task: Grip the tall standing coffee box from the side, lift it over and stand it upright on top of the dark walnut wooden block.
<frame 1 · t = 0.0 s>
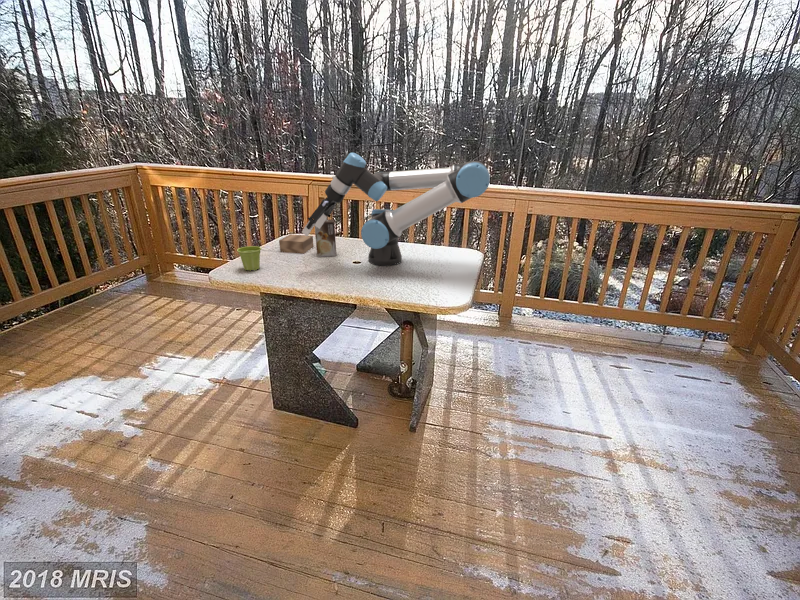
hand: (311, 230, 165), 15 cm above the table, tool tilted 35°, fingers open, 13 cm apart
walnut block: (297, 250, 193), on the table
plant pot: (252, 269, 165), on the table
coffee box: (326, 255, 186), on the table
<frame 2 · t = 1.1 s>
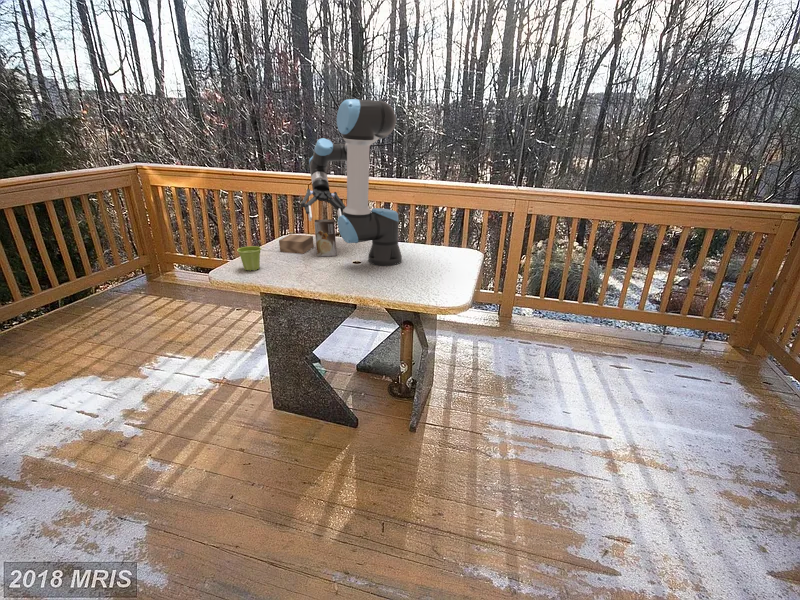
hand: (326, 220, 174), 17 cm above the table, tool tilted 50°, fingers open, 13 cm apart
nothing on the table moved.
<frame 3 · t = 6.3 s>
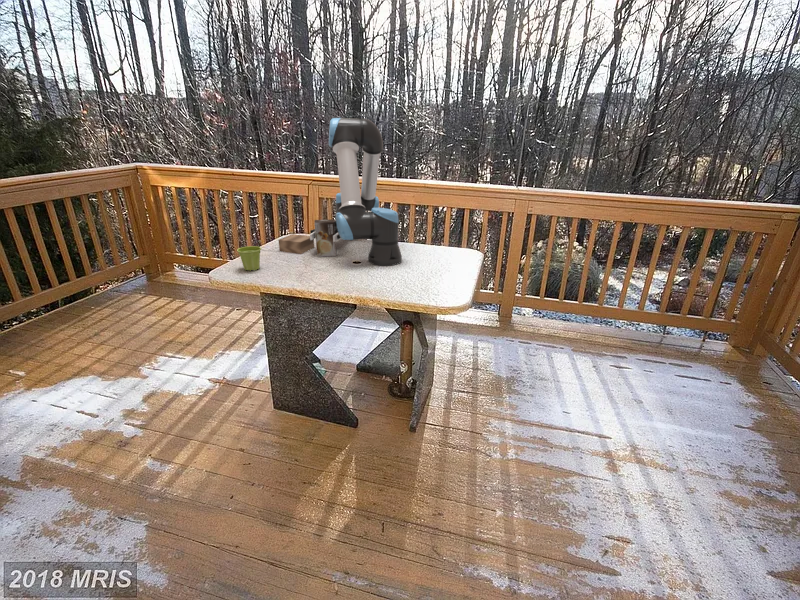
hand: (322, 238, 179), 9 cm above the table, tool horizontal, fingers closed on coffee box, 10 cm apart
coffee box: (326, 255, 186), on the table, touching gripper
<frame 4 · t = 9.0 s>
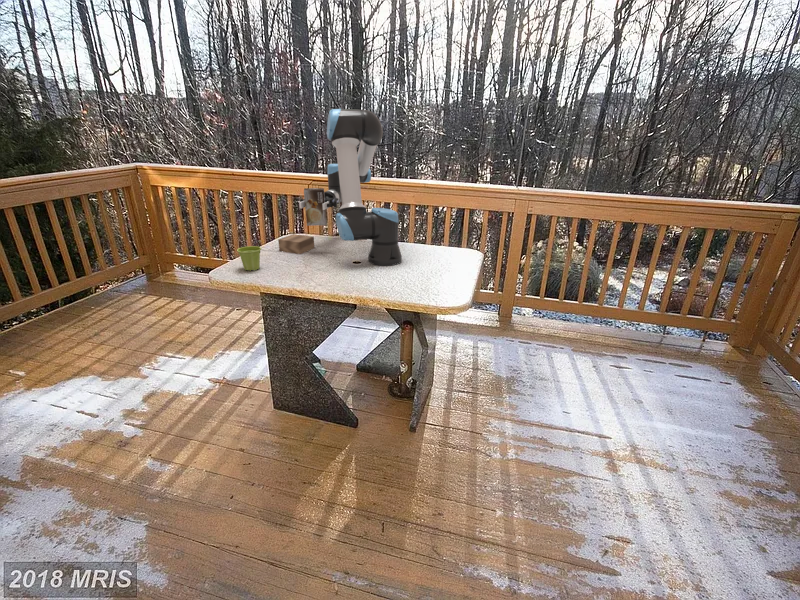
hand: (311, 206, 177), 23 cm above the table, tool horizontal, fingers closed on coffee box, 10 cm apart
coffee box: (316, 224, 184), point 13 cm above the table, touching gripper
everything else where it was.
when the fingers open (16 cm above the table, at t = 12.1 s): coffee box drops 2 cm, resting on walnut block.
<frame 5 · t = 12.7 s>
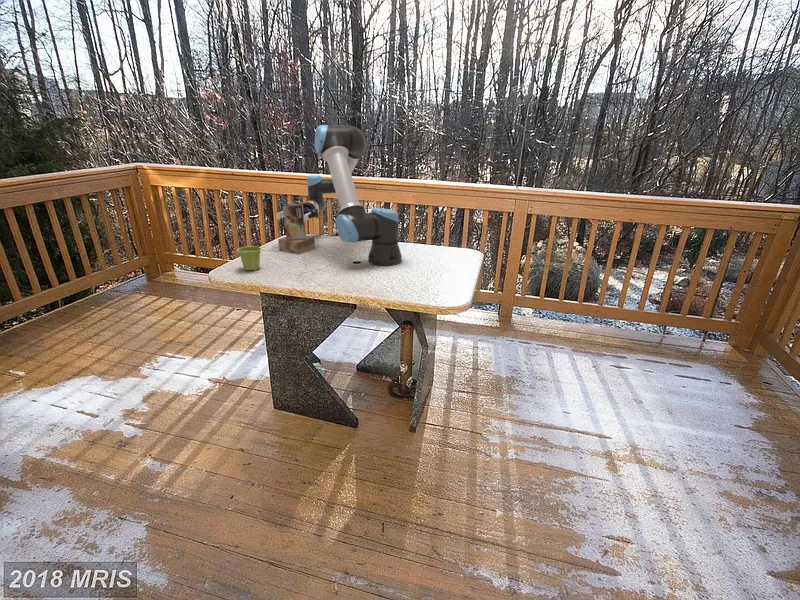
hand: (291, 217, 184), 16 cm above the table, tool horizontal, fingers open, 13 cm apart
walnut block: (297, 250, 193), on the table, touching coffee box
coffee box: (296, 238, 191), point 6 cm above the table, touching walnut block
everything else where it was.
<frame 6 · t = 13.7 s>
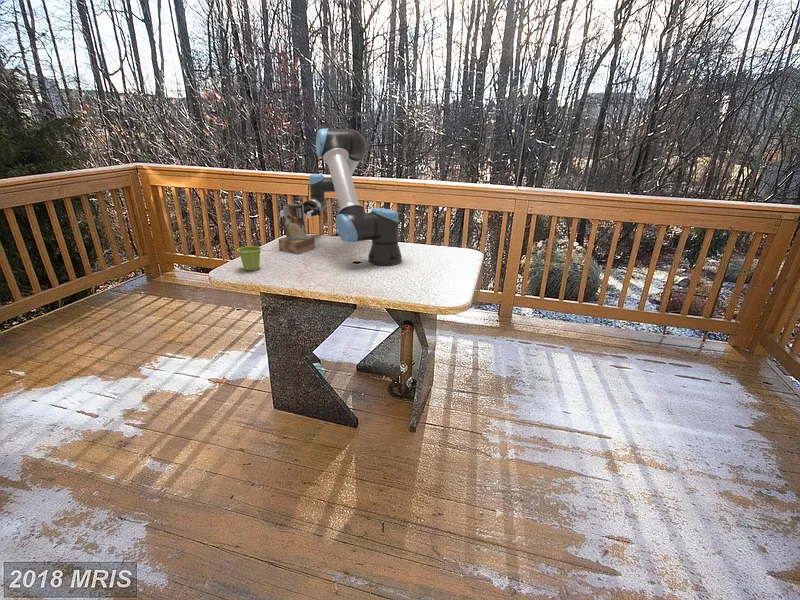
hand: (294, 214, 187), 17 cm above the table, tool horizontal, fingers open, 13 cm apart
walnut block: (297, 250, 193), on the table
coffee box: (296, 238, 191), point 5 cm above the table
everything else where it was.
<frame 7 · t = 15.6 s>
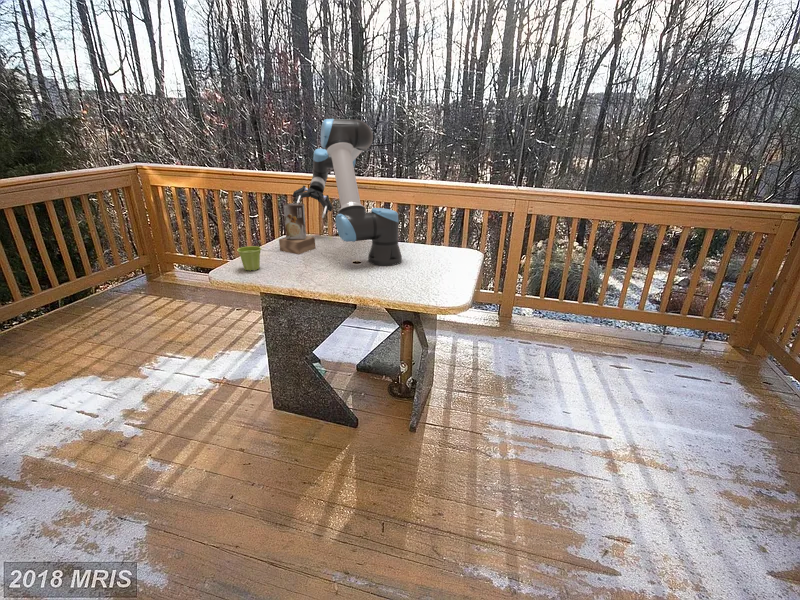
hand: (310, 210, 193), 18 cm above the table, tool tilted 65°, fingers open, 13 cm apart
walnut block: (298, 250, 193), on the table, touching coffee box
coffee box: (296, 238, 191), point 6 cm above the table, touching walnut block
everything else where it was.
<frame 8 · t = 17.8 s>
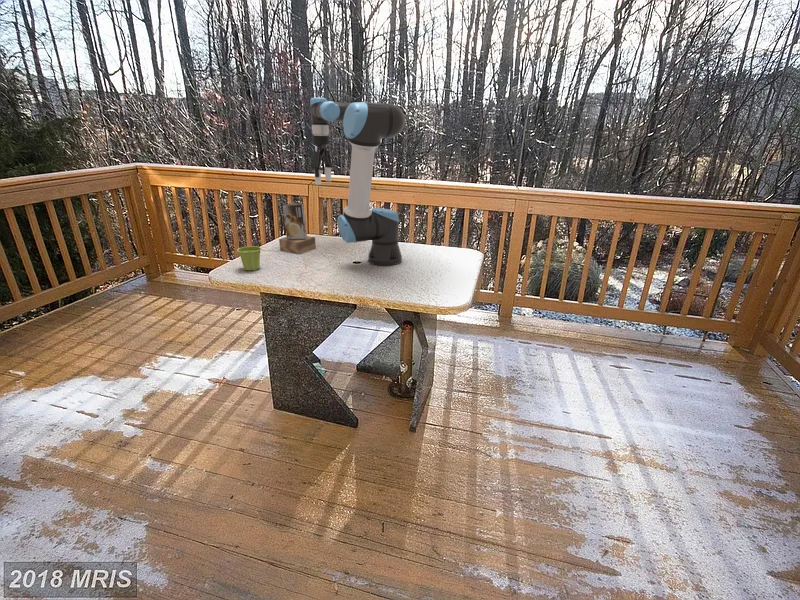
hand: (323, 182, 190), 31 cm above the table, tool pointing down, fingers open, 13 cm apart
nothing on the table moved.
at the end: coffee box inside the target area on the walnut block (0.1 cm from its centre), point 5.9 cm above the walnut block's base; coffee box tilted 2°; the gripper is holding nothing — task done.
